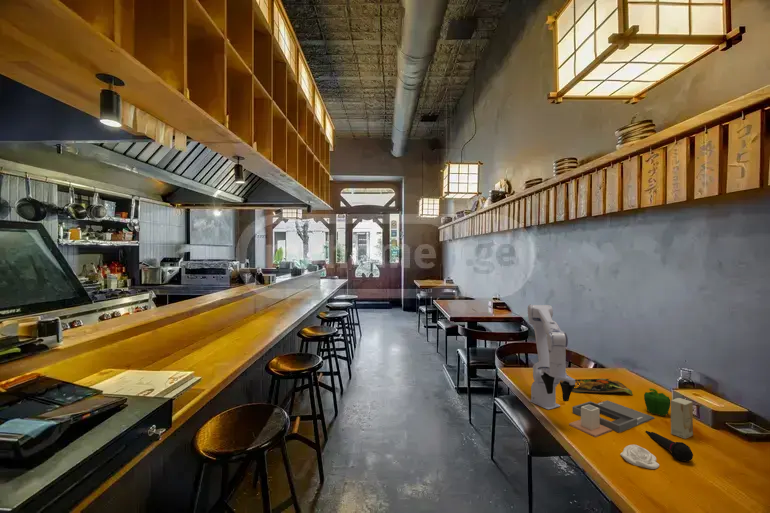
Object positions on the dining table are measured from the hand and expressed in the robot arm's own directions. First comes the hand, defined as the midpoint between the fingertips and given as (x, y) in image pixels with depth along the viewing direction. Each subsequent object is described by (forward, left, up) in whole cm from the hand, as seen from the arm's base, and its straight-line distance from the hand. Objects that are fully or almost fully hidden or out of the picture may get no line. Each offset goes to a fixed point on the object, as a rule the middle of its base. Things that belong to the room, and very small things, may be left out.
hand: (557, 397), depth 131 cm
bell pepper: (+14, +43, -10) cm, 46 cm away
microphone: (+29, +16, -10) cm, 35 cm away
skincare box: (+27, +31, -10) cm, 42 cm away
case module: (+9, +6, -9) cm, 14 cm away
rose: (+29, 0, -10) cm, 30 cm away
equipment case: (+7, +24, -9) cm, 26 cm away
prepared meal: (-15, +47, -10) cm, 51 cm away
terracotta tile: (+9, +6, -9) cm, 14 cm away
